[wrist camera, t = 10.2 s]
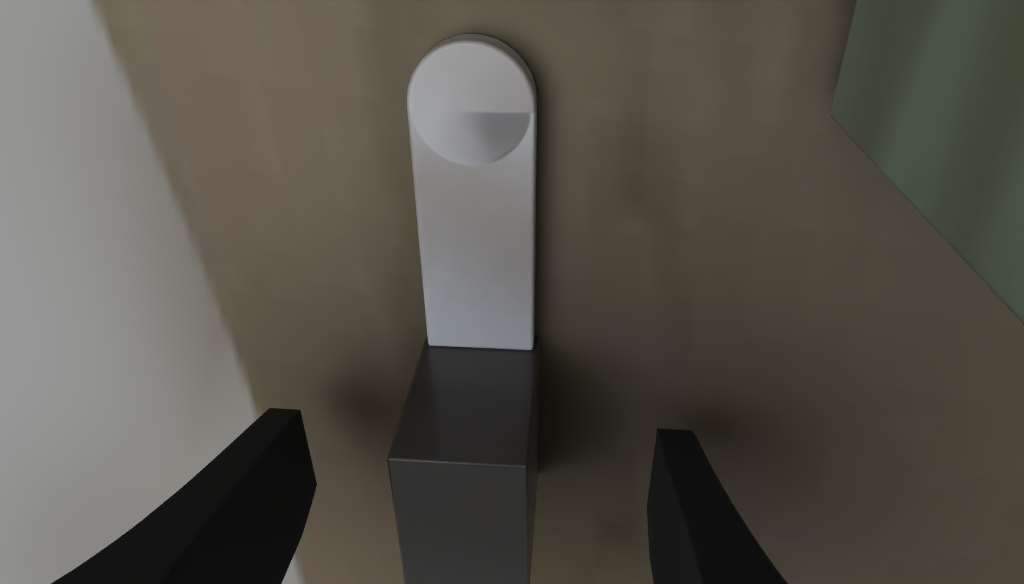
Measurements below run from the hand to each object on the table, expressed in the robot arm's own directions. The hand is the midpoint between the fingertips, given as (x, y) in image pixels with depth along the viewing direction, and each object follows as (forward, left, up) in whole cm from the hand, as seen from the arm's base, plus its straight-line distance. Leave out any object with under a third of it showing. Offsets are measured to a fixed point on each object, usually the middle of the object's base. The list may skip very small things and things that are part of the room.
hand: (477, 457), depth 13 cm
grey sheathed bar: (+3, 0, -1) cm, 3 cm away
